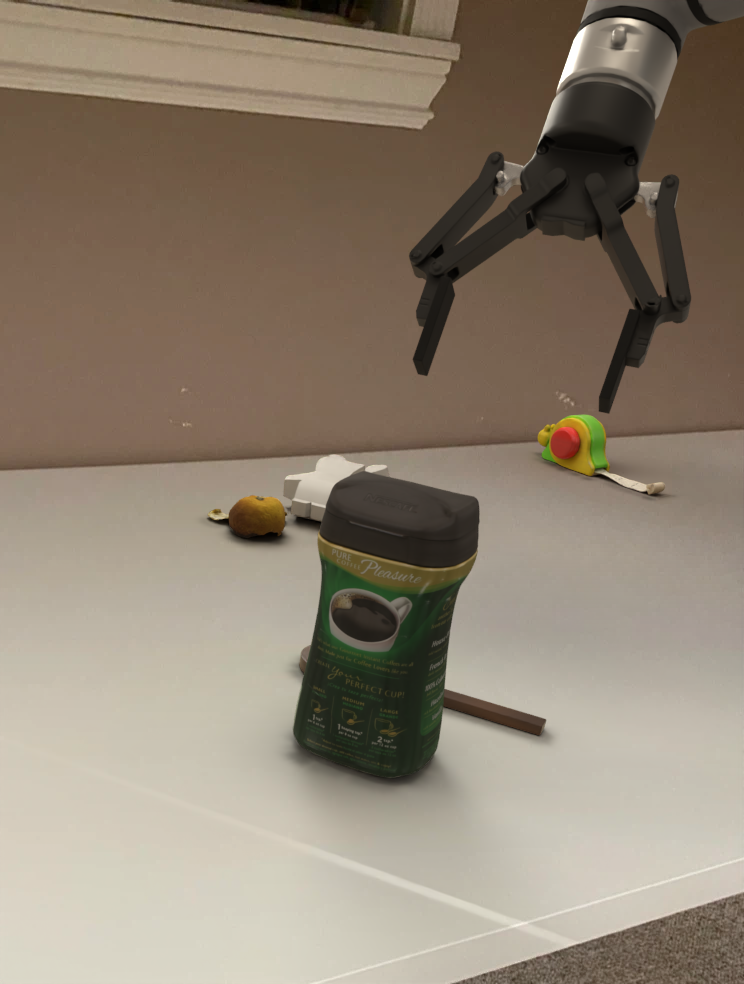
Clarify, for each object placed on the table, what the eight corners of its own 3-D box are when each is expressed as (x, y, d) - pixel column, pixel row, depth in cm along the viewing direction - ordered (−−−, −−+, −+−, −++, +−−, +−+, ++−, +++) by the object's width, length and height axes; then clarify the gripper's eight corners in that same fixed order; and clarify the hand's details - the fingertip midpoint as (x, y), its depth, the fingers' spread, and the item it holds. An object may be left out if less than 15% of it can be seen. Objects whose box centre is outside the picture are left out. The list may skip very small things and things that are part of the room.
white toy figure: (268, 479, 114) (323, 435, 125) (265, 525, 117) (319, 477, 128) (353, 499, 111) (402, 451, 122) (348, 545, 114) (396, 494, 125)
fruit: (279, 514, 118) (283, 480, 116) (304, 542, 111) (308, 507, 109) (204, 514, 116) (207, 480, 114) (224, 542, 109) (227, 507, 107)
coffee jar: (449, 747, 76) (506, 487, 67) (405, 796, 70) (462, 518, 61) (324, 703, 81) (363, 453, 72) (273, 746, 75) (308, 479, 66)
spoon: (550, 718, 82) (553, 706, 81) (533, 747, 77) (536, 734, 77) (315, 648, 89) (316, 636, 88) (288, 671, 85) (289, 659, 84)
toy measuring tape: (551, 450, 151) (562, 402, 148) (673, 493, 138) (688, 441, 134) (520, 455, 148) (531, 405, 145) (641, 498, 134) (657, 445, 131)
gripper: (433, 58, 81) (338, 331, 81) (798, 95, 72) (692, 401, 72) (445, 121, 88) (358, 373, 88) (779, 162, 79) (683, 441, 79)
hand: (509, 386), depth 80 cm, fingers open, 13 cm apart
